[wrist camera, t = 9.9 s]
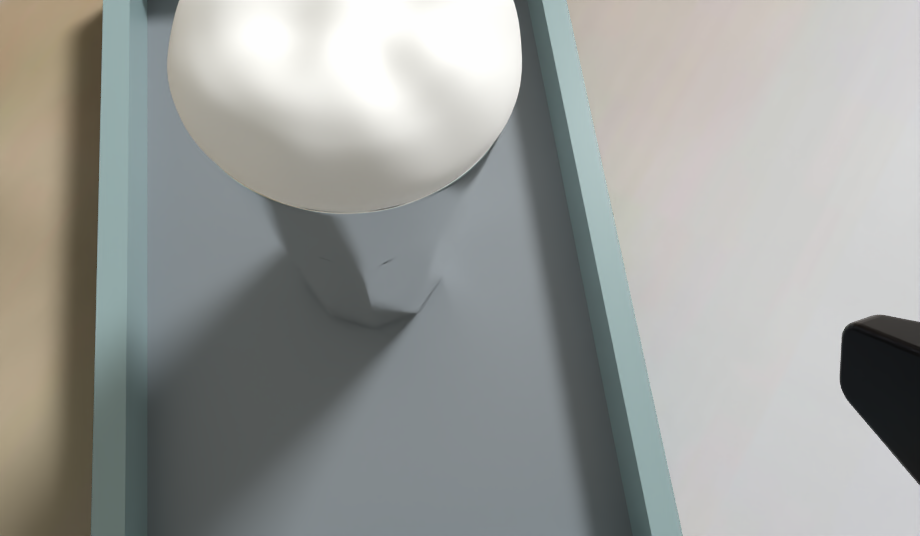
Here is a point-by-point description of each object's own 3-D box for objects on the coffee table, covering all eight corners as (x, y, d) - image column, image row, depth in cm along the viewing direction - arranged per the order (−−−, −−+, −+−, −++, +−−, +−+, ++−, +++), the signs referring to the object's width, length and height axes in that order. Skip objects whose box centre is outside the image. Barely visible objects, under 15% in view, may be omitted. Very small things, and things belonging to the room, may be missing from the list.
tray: (661, 572, 16) (691, 577, 14) (123, 655, 15) (87, 670, 13) (536, -36, 21) (547, -86, 19) (129, -12, 20) (104, -62, 18)
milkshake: (463, 139, 19) (522, -267, 9) (477, 352, 17) (568, 120, 7) (276, 142, 18) (137, -278, 9) (270, 360, 16) (89, 127, 7)
